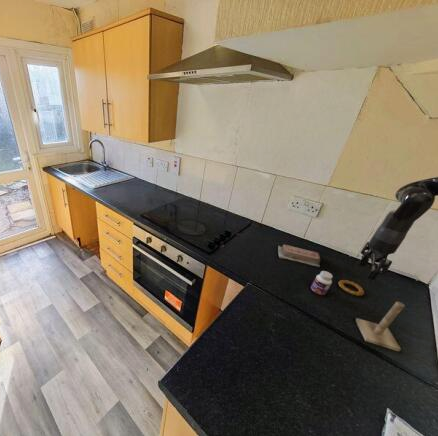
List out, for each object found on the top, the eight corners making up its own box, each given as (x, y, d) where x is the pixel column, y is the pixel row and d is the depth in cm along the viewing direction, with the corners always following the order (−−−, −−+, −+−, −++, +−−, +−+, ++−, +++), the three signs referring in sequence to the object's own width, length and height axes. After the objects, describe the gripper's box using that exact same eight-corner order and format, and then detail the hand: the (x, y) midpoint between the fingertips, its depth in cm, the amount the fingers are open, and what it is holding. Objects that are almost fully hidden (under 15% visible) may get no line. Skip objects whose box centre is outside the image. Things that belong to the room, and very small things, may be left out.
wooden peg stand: (384, 329, 81) (410, 298, 74) (398, 352, 74) (428, 320, 67) (354, 320, 84) (376, 289, 77) (364, 341, 76) (389, 309, 69)
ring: (358, 285, 101) (360, 282, 100) (366, 299, 94) (368, 296, 93) (334, 279, 104) (336, 276, 103) (341, 292, 96) (343, 289, 96)
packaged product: (319, 250, 116) (323, 260, 108) (315, 257, 119) (319, 268, 110) (280, 240, 123) (281, 250, 114) (277, 248, 125) (278, 257, 117)
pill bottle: (307, 288, 98) (315, 271, 93) (315, 285, 100) (324, 268, 95) (319, 297, 93) (329, 279, 89) (327, 294, 95) (338, 277, 91)
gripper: (412, 250, 76) (386, 286, 84) (390, 231, 88) (369, 264, 95) (384, 245, 78) (361, 280, 86) (366, 227, 90) (348, 259, 98)
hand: (365, 272), depth 91 cm, fingers open, 8 cm apart
